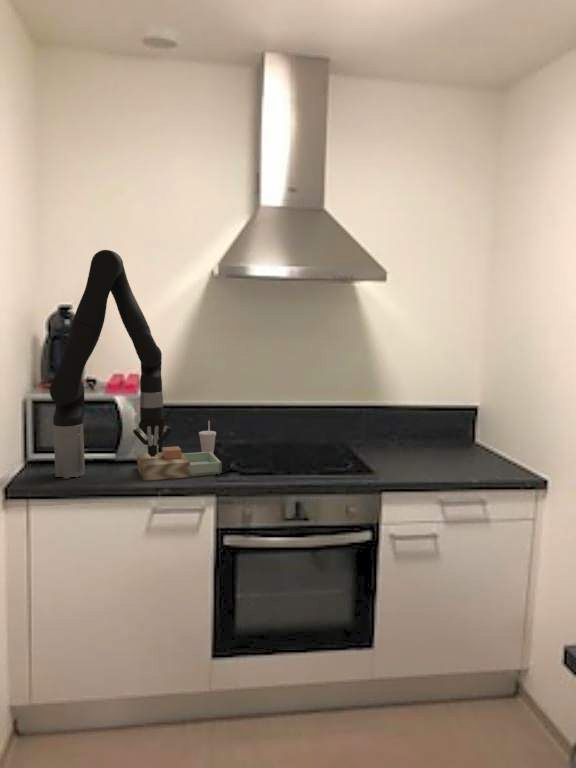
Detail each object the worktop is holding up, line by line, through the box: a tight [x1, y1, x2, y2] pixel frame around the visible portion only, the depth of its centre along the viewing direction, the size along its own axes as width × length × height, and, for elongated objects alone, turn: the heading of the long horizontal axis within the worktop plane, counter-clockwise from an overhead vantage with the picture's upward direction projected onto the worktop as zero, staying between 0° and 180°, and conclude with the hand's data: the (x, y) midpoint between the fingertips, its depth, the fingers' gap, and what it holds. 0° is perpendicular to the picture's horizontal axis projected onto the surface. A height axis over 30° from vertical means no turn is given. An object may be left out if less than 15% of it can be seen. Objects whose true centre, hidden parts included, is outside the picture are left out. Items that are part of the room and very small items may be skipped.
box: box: [182, 451, 223, 478], centre depth 222 cm, size 10×16×4 cm, turn 20°
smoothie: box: [198, 420, 217, 454], centre depth 236 cm, size 6×6×14 cm
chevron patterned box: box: [136, 451, 191, 482], centre depth 217 cm, size 15×16×5 cm
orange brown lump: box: [161, 445, 182, 460], centre depth 218 cm, size 6×6×3 cm
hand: (152, 456), depth 215 cm, fingers closed
